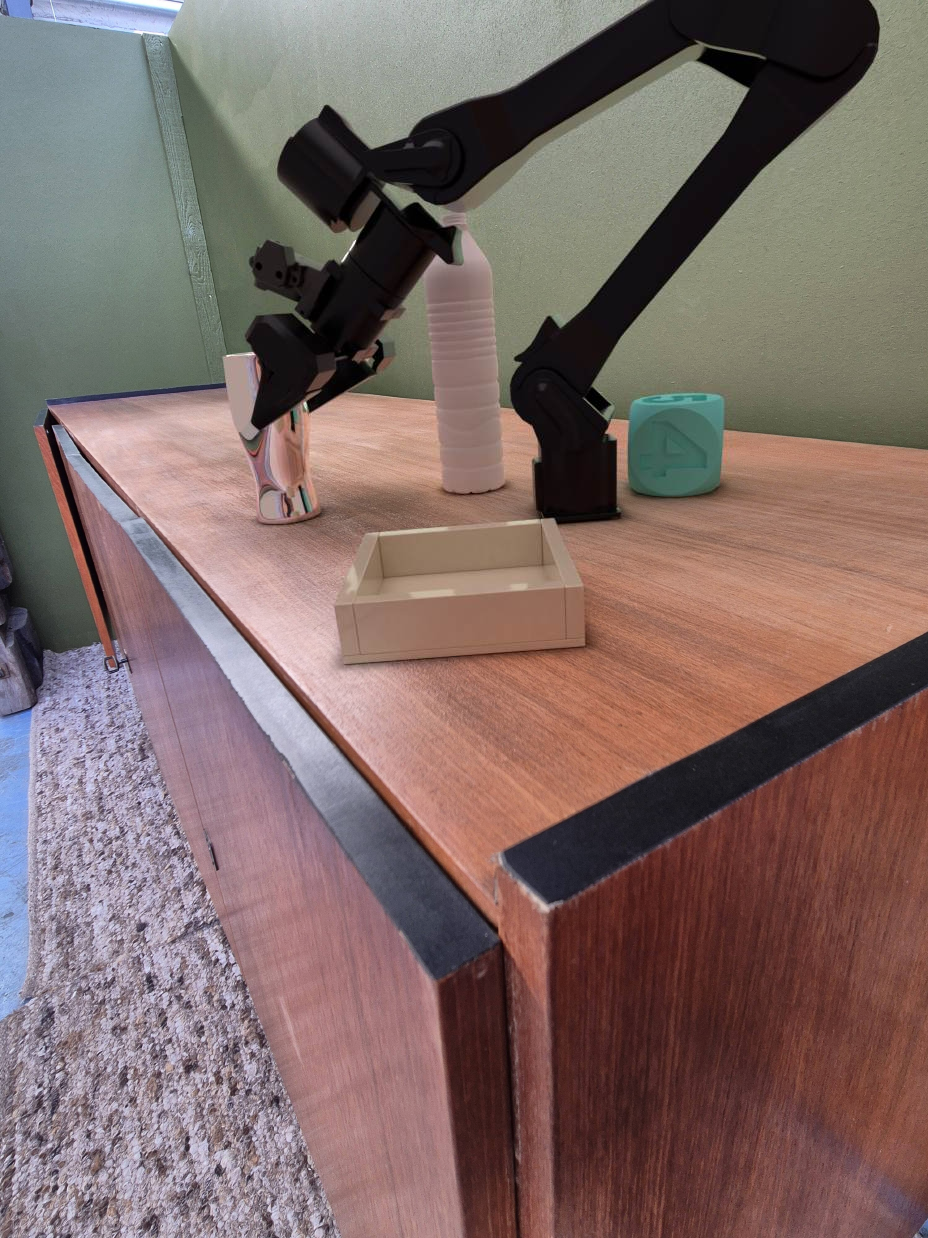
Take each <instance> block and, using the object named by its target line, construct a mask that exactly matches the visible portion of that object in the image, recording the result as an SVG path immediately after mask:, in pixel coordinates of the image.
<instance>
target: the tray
mask: <svg viewBox="0 0 928 1238" xmlns="http://www.w3.org/2000/svg"><path fill="white" fill-rule="evenodd" d="M557 523H558V522H556V521H555V519H554V518H549V519H543V518H535V519H525V520H511V521H499V522H488V523H477V524H476V523H475V524H462V525H450V526H438V527H424V528H414V529H413V528H412V529H403V530H402V529H400V530H388V531H380V532H379V531H377V532H376V531H375V532H366V533H364V536H363V538H362V540H361V542H360V545H359V547H358V550H357V551H356V554H355V556H354V558H353V561H352V563H351V565H350V567H349V570H348V572H347V574H346V577H345V579H344V581H343V584H342V585H341V588H340V590H339V593H338V595H337V597H336V599H335V602H334V604H333V609H334V616H335V620H336V627H337V633H338V639H339V644H340V650H341V656H342V662H343V664H344V665H352V664H353V665H354V664H365V663H379V662H391V661H392V662H393V661H406V660H418V659H434V658H444V657H458V656H459V657H460V656H472V655H473V656H474V655H486V654H498V653H511V652H513V653H514V652H525V651H526V652H527V651H539V650H552V649H565V648H566V649H567V648H578V647H579V648H581V647H585V646H586V623H585V622H586V617H585V616H586V615H585V614H586V613H585V585H584V583H583V581H582V579H581V576H580V574H579V571H578V569H577V567H576V565H575V562H574V560H573V558H572V555H571V553H570V551H569V549H568V546H567V544H566V541H565V539H564V537H563V534H562V532H561V530H560V528H559V525H558V524H557Z"/></svg>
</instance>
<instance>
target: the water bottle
mask: <svg viewBox="0 0 928 1238" xmlns="http://www.w3.org/2000/svg"><path fill="white" fill-rule="evenodd" d="M466 216H467V215H466V213H457V212H455V213H447V214H443V215H440V223H441V224H442V225H443V226H444V227H449V226H452V225H454V226H457V227H460V228H461V229H462V237H461V245H462V251H463V257H464V263H463V264H462V265H461V266H456V265H448V264H446V263H445V262H444V261H443V260H442V259H441V258H440V257H439V256H438V255H436V257H435V258H434V259H433V261H432V262H431V264H430V265H429V266H428V268H427V269H426V271H425V272H424V274H423V291H424V299H425V303H426V306H425V307H426V308H425V309H426V313H427V315H426V319H427V322H428V324H427V329H428V332H429V333H428V337H429V338H428V339H429V340H430V342H429V348H430V357H431V376H432V382H433V385H434V388H433V393H434V394H433V395H434V404H435V405H436V409H435V416H436V420H437V422H438V423H437V436H438V442H439V458H440V462H441V467H440V468H441V470H440V471H441V482H442V487H443V489H444V490H445V491H446V492H448V493H455V494H470V493H472V494H480V493H486V492H488V491H494V490H498V489H500V488H501V487H504V485H505V483H506V473H505V461H504V460H503V457H504V445H503V440H502V436H503V425H502V422H501V418H502V417H501V416H502V410H501V404H500V397H501V396H500V395H501V391H500V383H499V381H498V379H499V361H498V355H497V353H498V351H497V349H498V348H497V345H496V344H497V337H496V336H495V335H496V327H495V325H496V319H495V317H494V316H495V308H494V306H495V302H494V301H495V300H494V299H493V297H494V276H493V270H492V267H491V264H490V262H489V260H488V259H487V257H486V255H485V254H484V253H483V251H482V249H481V248H480V247H479V246H478V244H477V242H476V241H475V240H474V238H473V236H472V235H471V233H470V232H469V230H468V226H469V223H467V217H466Z"/></svg>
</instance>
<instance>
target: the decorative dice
mask: <svg viewBox="0 0 928 1238" xmlns="http://www.w3.org/2000/svg"><path fill="white" fill-rule="evenodd" d="M628 415H629V416H628V430H627V431H628V432H627V481H628V485H629V487H630V488H631V489H633V490H634V491H635V492H636V493H639V494H642V495H646V496H650V497H651V496H652V497H663V498H664V497H665V498H667V497H668V498H675V497H676V498H679V497H690V496H697V495H703V494H707V493H710V492H712V491H714V490H716V488H717V487H719V486H720V484H721V477H722V466H723V465H722V463H723V447H724V430H725V429H724V427H725V399H724V398H723V397H722V396H721V395H719V394H714V393H702V392H701V393H699V392H698V393H697V392H690V393H689V392H686V393H669V394H657V395H650V396H644V397H641V398H636V399H635V400H634V401H632V403H631V405H630V409H629V414H628Z"/></svg>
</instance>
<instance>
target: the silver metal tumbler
mask: <svg viewBox="0 0 928 1238" xmlns="http://www.w3.org/2000/svg"><path fill="white" fill-rule="evenodd" d="M221 359H222V364H223V371H224V380H225V387H226V393H227V394H226V395H227V399H228V405H229V409H230V413H231V418H232V422H233V426H234V428H235V431H236V433H237V436H238V439H239V442H240V444H241V447H242V450H243V453H244V455H245V457H246V459H247V462H248V465H249V468H250V470H251V471H250V472H251V473H252V477H253V480H254V485H255V491H256V516H257V520H258V522H260V523H262V524H265V525H285V524H293V523H300V522H303V521H306V520H309V519H313V518H315V517H317V516H318V515H320V514H321V512H322V507H321V505H320V502H319V499H318V496H317V493H316V490H315V486H314V484H313V478H312V473H311V472H312V471H311V460H310V459H311V456H310V454H311V453H310V451H311V450H310V449H311V447H310V446H311V444H310V443H311V437H310V436H311V434H310V433H311V432H310V429H311V428H310V426H311V425H310V424H311V423H310V414H309V408H308V401H306V402H304V403H302V404H301V405H299V406H298V407H296V408H295V409H293V410H292V411H290V412H289V413H287V414H286V415H284V416H283V417H281V418H280V419H278V420H277V421H275V422H274V423H272V424H271V425H269V426H268V427H266V428H265V429H263V430H261V431H259V430H257V429H256V428H255V427H254V426H253V425H252V424H251V418H252V413H253V409H254V405H255V400H256V396H257V392H258V387H259V383H260V376H261V365H260V362H259V359H258V356H256V355H255V354H254V353H253V351H251V352H241V353H240V352H239V353H232V354H225V355H222V356H221Z"/></svg>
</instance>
